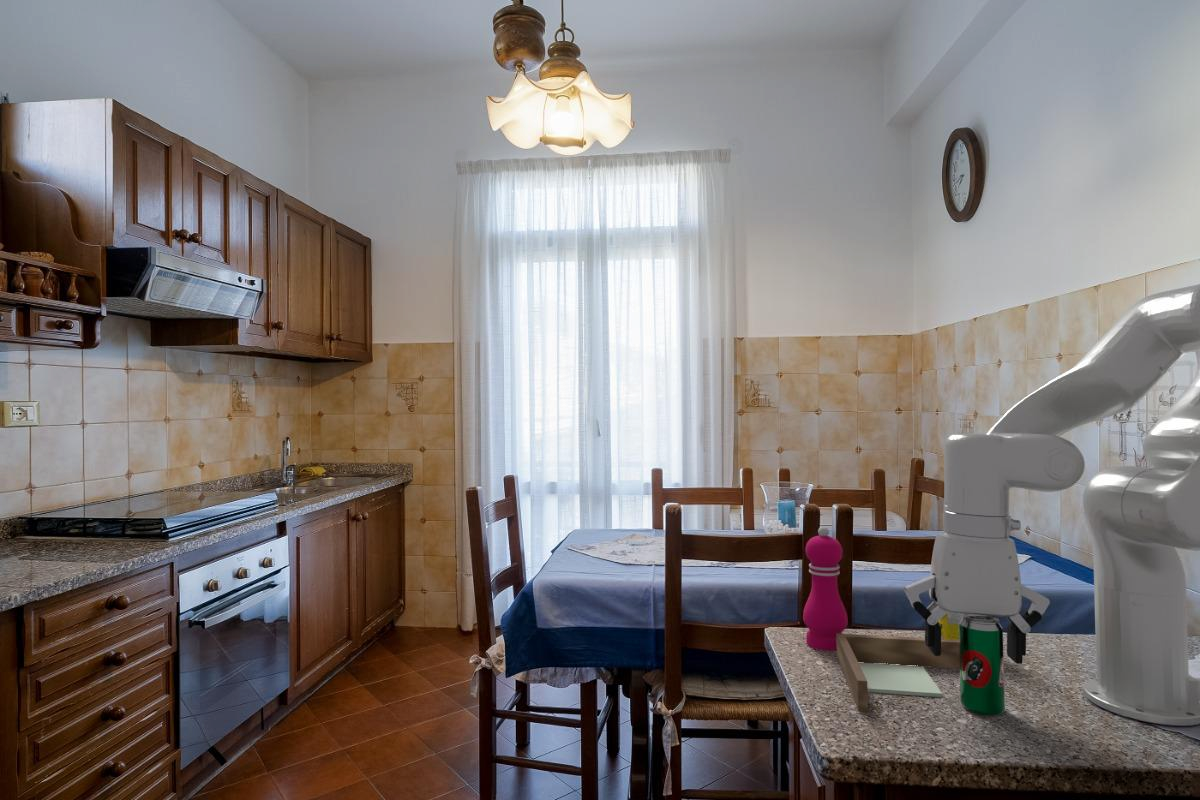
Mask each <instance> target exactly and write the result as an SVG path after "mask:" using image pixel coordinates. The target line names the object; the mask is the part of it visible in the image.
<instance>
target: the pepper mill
mask: <svg viewBox="0 0 1200 800" xmlns="http://www.w3.org/2000/svg"><path fill="white" fill-rule="evenodd" d="M817 533H818V535H816V536H813V537H811V538H810V539H809V540H808V541H807V542H806V545H805V555H806V557H807V559H808V560H809V562H810V563H809V564H808V566H809V570H808V572H809V573H810V574H811V590H810V593H809V596H808V598H807V601H806V603H805V605H804V608H803V611H802V612H803V614H802V620H803V623H804V624H805V626H806V627H807V628H808V630H807V631H806V633H805V635H806V638H805V639H806V644H807V645H808V646H809V647H811V648H812V649H816V650H820V651H827V652H832V651H833V652H834V651H836V650H837V642H836V633H839V634H843V632H844V631H845V630H846V628H847V627H848V623H849V621H848V613H847V611H846V608H845V606H844V603H843V601H842V599H841V595H840V594H839V589H838V576H839V575H840V573H841V572H840V565H839V564H838V563H839V562H840V561H841V560H842V558H843V553H844V552H843V547H842V545H841V543H840V541H839V540H838V539H836V538H834V537H832V536H829V534H830V530H829V528H828V527H826V526H820V527H819V528H818V530H817ZM836 652H837V651H836Z"/></svg>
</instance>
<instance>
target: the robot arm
mask: <svg viewBox="0 0 1200 800" xmlns="http://www.w3.org/2000/svg"><path fill="white" fill-rule="evenodd" d="M1194 352H1195V356H1196V363H1197V367H1196V368H1197V370H1196V374H1195V376H1194V378H1193V380H1192V381H1191V382H1190V383H1189V385H1188V386H1187V387H1186V389H1185V390H1184V391H1183V392H1182V393H1181V394H1180V395H1179V396H1178V397H1177V399H1176V400H1175V401H1174V402H1173V403H1172V404H1171V405H1170V407H1169V408H1168V409H1166V411H1165V412H1164V413H1163V414H1162V415H1161V416H1160V417H1159V418H1158V420H1157V421H1156V422H1155V423H1154V424H1153V426H1152V427H1151V428H1150V430H1149V431H1148V432H1147V434H1146V435H1145V437H1144V440H1143V443H1142V451H1143V452H1142V453H1143V456H1144V459H1145V460H1146V461H1147V462H1148V464H1150V466H1152V467H1147V466H1135V465H1121V466H1113V467H1109V468H1105V469H1103V470H1101V471H1099V472H1096V473H1095V474H1094V475H1093V476H1092V477H1091V478H1090V479H1089V480H1088V482H1087V483H1086V486H1085V487H1084V490H1083V495H1082V507H1083V514H1084V517H1085V521H1086V524H1087V525H1086V526H1087V529H1088V533H1089V537H1090V543H1091V549H1092V560H1093V580H1094V581H1093V595H1094V622H1095V623H1094V625H1095V654H1096V656H1095V657H1096V658H1095V660H1096V661H1095V663H1096V678H1093V679H1092V678H1091V679H1089V680H1087V681H1085V682H1084V684H1083V685H1082V687H1083V694H1084V697H1085V698H1086V699H1088V701H1090V702H1091V703H1093V704H1094V705H1095V706H1098V707H1100V708H1103V709H1104V710H1106V711H1109V712H1112V713H1113V714H1114V713H1115V714H1116V715H1119V716H1123V717H1126V718H1130V719H1134V720H1136V721H1143V722H1146V723H1151V724H1156V725H1157V724H1158V725H1165V726H1173V727H1175V726H1177V727H1178V726H1180V727H1181V726H1182V727H1185V726H1186V727H1187V726H1195V725H1196V726H1197V725H1200V677H1193V676H1191V675H1190V673H1189V672H1190V671H1189V669H1190V668H1189V645H1188V644H1189V643H1188V640H1189V639H1188V638H1189V637H1188V614H1187V613H1188V608H1187V579H1186V573H1185V569H1184V566H1183V562H1182V560H1181V557H1180V555H1179V553H1178V551H1177V549H1176V548H1178V549H1181V550H1182V549H1183V550H1187V551H1195V552H1200V283H1199V284H1195V285H1194V284H1193V285H1191V286H1190V285H1189V286H1186V287H1181V288H1175V289H1171V290H1166V291H1162V292H1156V293H1154V294H1150V295H1148V296H1145V297H1143V298H1142V299H1139V300H1138V301H1136V302H1135V303H1134V304H1132V306H1131V307H1129V309H1127V311H1126V312H1124V313H1123V314H1122V316H1121V317H1119V319H1118V320H1117V321H1116V322H1115V323H1114V324H1113V325H1112V326H1111V327H1110V328H1109V329H1108V331H1106V333H1105V334H1104V335H1102V337H1101V338H1100V339H1099V340H1097V342H1096V343H1095V344H1094V345H1093V346H1092V347H1091V349H1089V350H1088V352H1087V353H1085V355H1084V356H1083V357H1082V358H1081V359H1080V360H1079V361H1078V362H1077V363H1076V364H1074V366H1072V367H1071V368H1070V369H1068V370H1067V371H1065V372H1064V373H1062V374H1060V375H1058V376H1057V377H1055V378H1053V379H1052V380H1050V381H1049V382H1047V383H1046V384H1045V385H1043V386H1041V387H1040V388H1038V389H1037V390H1035V391H1033V392H1032V393H1030V394H1029V395H1027V396H1025V397H1024V398H1023V399H1021V400H1020V401H1019V402H1017V403H1016V404H1014V405H1013V406H1012V407H1011V408H1010V409H1008V410H1007V412H1005V414H1003V415H1002V416H1001V418H999V420H998V421H997V422H996V423H995V424H994V425H993V426H992V427H991V428H990V429H989V430H988V431H987V433H968V432H967V433H954V434H950V435H949V436H948V437H946V438H947V439H946V441H945V444H944V475H943V476H944V484H943V485H944V489H943V492H944V496H943V498H944V499H943V500H944V501H943V532H937V533H936V535H935V539H934V543H933V548H932V549H933V550H932V557H931V564H930V572H929V576H927V577H925V578H922V579H919V580H917V581H914V582H913V583H910V584H907V585H905V586H904V587H903V591H904V593H905V595H906V597H907V600H908V601H909V602H910V605H911V607H912V608H913V609H914V610H915V611H916V612H917V614H918V615H920V617H922V618H923V619H924V638H925V644H926V646H927V647H929V650H930V651H931V652H932V653H933V654H934V656H940V655H941V626H940V625H939V624H938V621H939V620H940V619H941V618H942V617H943V616H944V615H945V614H946V613H947V612H953V613H963V614H975V615H987V616H993V617H1002V618H1007V620H1008V621H1009V622H1010V625H1008V627H1007V628H1006V655H1007V657H1008V658H1009V659H1011V660H1012V661H1013V662H1014V663H1016V664H1017V665H1021V664H1023V657H1024V656H1026V655H1027V634H1028V633H1030V632H1031V628H1033V626H1035V625H1036V624H1037V623H1039V622H1040V621H1041V620H1042V618H1043V614H1045V612H1046V610H1047V608H1048V607H1049V605H1050V604H1051V602H1050V599H1049V598H1048V597H1046V596H1044V595H1042V594H1040V593H1039V592H1036V591H1035V590H1034V589H1033V590H1032V589H1031V588H1029V587H1027V586H1026V585H1023V584H1022V581H1021V580H1022V579H1021V571H1020V564H1019V558H1018V553H1017V548H1016V544H1015V543H1016V542H1015V540H1014V539H1012V538H1010V537H1011V536H1012V535H1011V533H1012V532H1014V531H1020V530H1021V527H1022V524H1021V521H1020V520H1019V519H1014V518H1011V517H1012V516H1011V515H1010V489H1012V488H1017V489H1025V490H1029V491H1034V492H1035V491H1036V492H1041V493H1055V492H1059V491H1060V492H1061V491H1064V490H1066V489H1069V488H1071V487H1072V486H1074V485H1075V484H1076V483H1078V482H1079V480H1080V479H1081V478H1082V476H1083V474H1084V472H1085V467H1086V466H1085V465H1086V464H1085V458H1084V455H1083V453H1082V452H1081V450H1080V449H1079V448H1078V446H1076V445H1075V443H1073V442H1071V441H1070V440H1068V439H1066V438H1064V437H1062V435H1064V434H1066V433H1067V432H1069V431H1072V430H1074V429H1076V428H1078V427H1081V426H1083V425H1087V424H1089V423H1093V422H1097V421H1100V420H1103V419H1107V418H1109V417H1112V416H1115V415H1118V414H1121V413H1122V412H1125V411H1128V410H1130V409H1131V408H1133V407H1134V406H1137V405H1138V404H1139V403H1140V402H1141V401H1142V400H1143V399H1144V398H1145V397H1146V396H1147V394H1149V393H1150V391H1151V390H1152V389H1154V387H1155V386H1156V385H1157V384H1158V382H1159V381H1161V379H1162V378H1163V377H1165V375H1166V374H1168V372H1169V371H1170V370H1171V369H1172V368H1173V367H1174V366H1175V365H1176V364H1177V363H1178V362H1179V361H1180V359H1181V358H1183V357H1184V356H1185V355H1188V354H1191V353H1194ZM927 591H928V594H929V598H930V600H931V601H932V602H931V603H930V604H929V605H928V606H927V607H926V606H925V605H924V604H923V602H922V601H921V598H920V595H921V594H923V593H924V592H927ZM1022 597H1024V598H1026V599H1028V600H1029V601H1030V602H1031V604H1030V607H1029V608H1028V609H1025V611H1024V612H1023V613H1021V610H1022V600H1023V599H1022ZM1020 613H1021V614H1020Z"/></svg>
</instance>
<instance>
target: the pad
mask: <svg viewBox="0 0 1200 800" xmlns="http://www.w3.org/2000/svg"><path fill="white" fill-rule="evenodd" d="M859 665H860V667H861V669H862V671H863V673H864V675H865V677H866V680H867V690H868V693H877V694H891V695H892V694H893V695H904V696H905V695H907V696H916V697H918V696H919V697H920V696H921V697H932V698H933V697H934V698H936V697H937V698H944V697H943V696H944V695H943V692H942V691H941V689H940V688H939V686H938V685H937V684H936V683H935V681H934V680H933V678H932V677H931V676H930V674H929V673H928V672H927V670H926V669H925V667H922V666H906V665H890V664H874V663H859Z"/></svg>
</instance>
